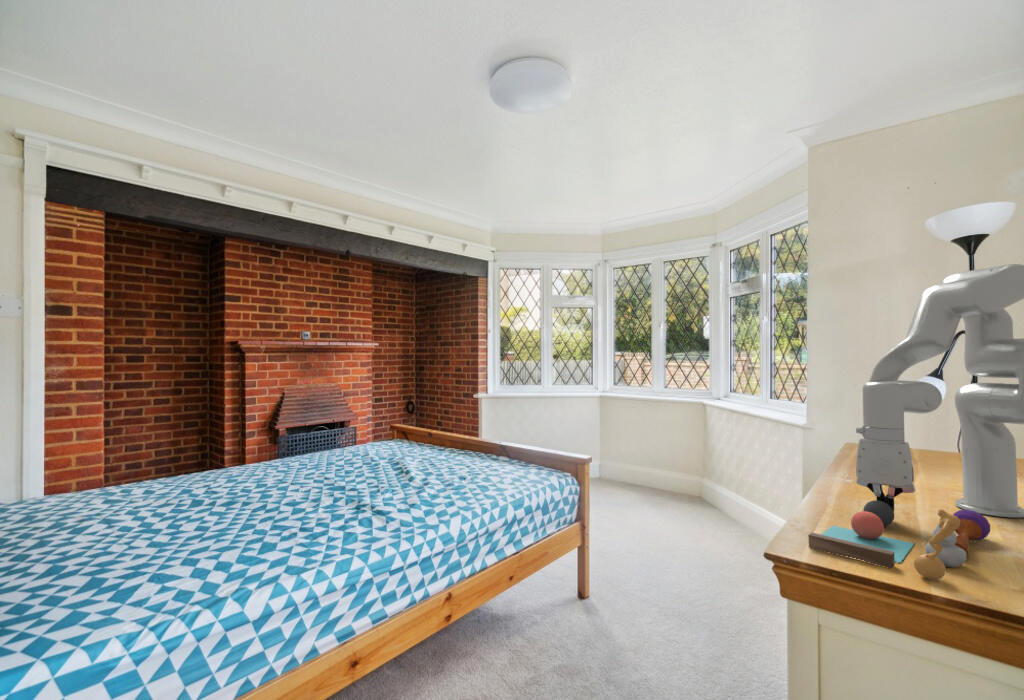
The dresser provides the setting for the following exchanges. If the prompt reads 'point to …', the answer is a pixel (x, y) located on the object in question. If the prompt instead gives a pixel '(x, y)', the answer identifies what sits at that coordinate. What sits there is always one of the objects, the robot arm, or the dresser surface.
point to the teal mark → (872, 541)
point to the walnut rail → (852, 550)
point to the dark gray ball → (880, 511)
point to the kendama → (970, 528)
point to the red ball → (867, 525)
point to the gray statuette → (948, 550)
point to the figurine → (936, 548)
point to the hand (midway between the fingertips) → (885, 513)
